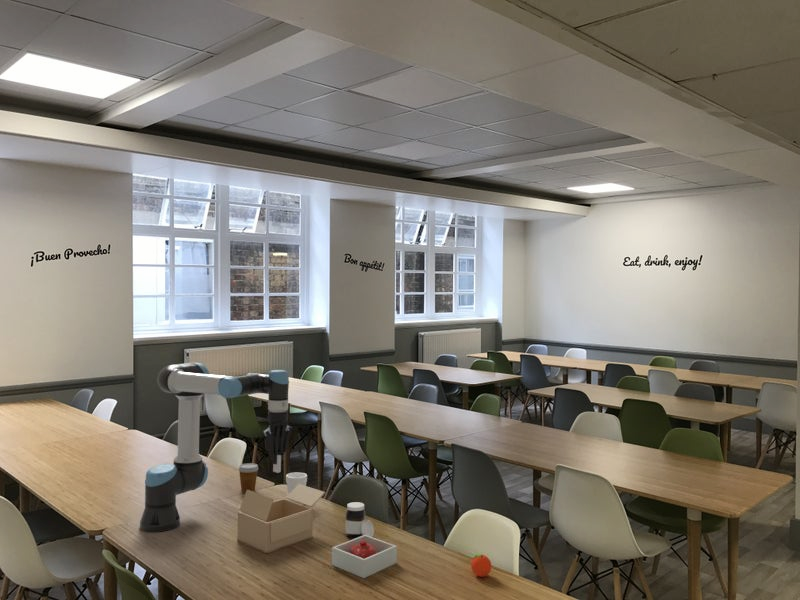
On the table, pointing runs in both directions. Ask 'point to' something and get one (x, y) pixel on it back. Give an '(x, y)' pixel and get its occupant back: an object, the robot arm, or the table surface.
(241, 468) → the disposable coffee cup
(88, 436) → the table surface
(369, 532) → the spread jar
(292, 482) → the foam cup
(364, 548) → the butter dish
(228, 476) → the table surface
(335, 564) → the dish caddy
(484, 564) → the clementine
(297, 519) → the carton
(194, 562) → the table surface
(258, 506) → the flap near
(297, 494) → the flap far
